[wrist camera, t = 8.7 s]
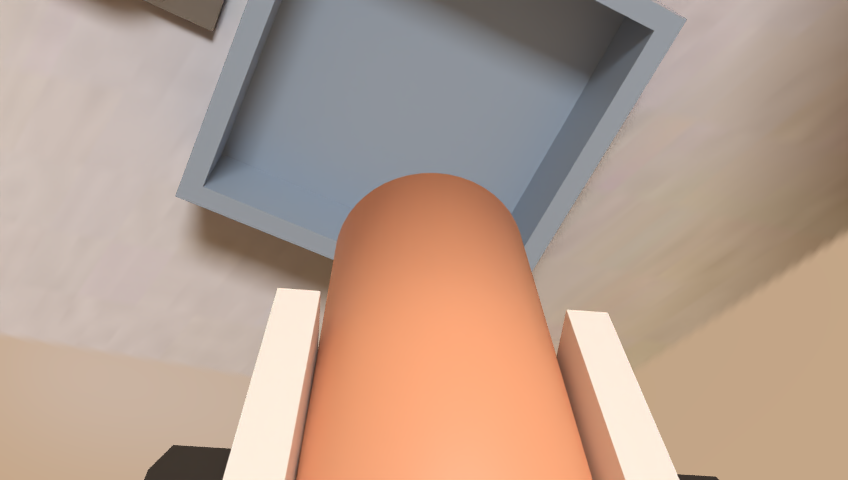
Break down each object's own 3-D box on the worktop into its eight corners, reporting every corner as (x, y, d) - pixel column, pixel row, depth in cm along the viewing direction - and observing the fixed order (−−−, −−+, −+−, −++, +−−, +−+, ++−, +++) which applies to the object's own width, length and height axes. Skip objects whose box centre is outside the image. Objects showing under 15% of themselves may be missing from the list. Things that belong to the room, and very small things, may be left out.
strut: (284, 306, 19) (127, 910, 8) (373, 117, 17) (317, 594, 6) (476, 380, 20) (558, 997, 9) (581, 211, 18) (841, 754, 7)
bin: (200, 157, 33) (175, 196, 29) (325, -175, 27) (313, -178, 24) (488, 277, 36) (498, 326, 32) (653, -2, 30) (687, 19, 27)
